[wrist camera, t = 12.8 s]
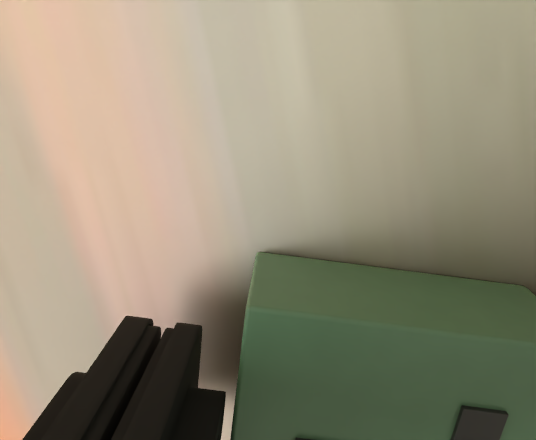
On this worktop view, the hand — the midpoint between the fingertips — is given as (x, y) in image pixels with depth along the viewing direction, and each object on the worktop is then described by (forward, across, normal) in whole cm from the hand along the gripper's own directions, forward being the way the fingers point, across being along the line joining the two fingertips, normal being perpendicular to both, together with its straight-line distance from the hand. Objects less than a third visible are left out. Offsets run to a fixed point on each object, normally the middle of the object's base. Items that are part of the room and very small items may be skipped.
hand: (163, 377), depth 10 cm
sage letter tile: (+1, -5, 0) cm, 5 cm away
